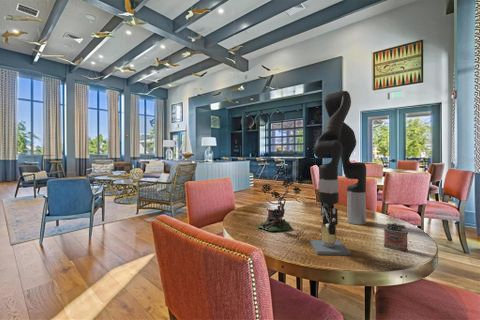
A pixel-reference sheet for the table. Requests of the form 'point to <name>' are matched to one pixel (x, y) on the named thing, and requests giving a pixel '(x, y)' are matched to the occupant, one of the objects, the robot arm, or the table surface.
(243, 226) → the table surface
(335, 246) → the grey peg stand
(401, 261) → the table surface
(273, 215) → the bonsai tree
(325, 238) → the bushing
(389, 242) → the small tin
